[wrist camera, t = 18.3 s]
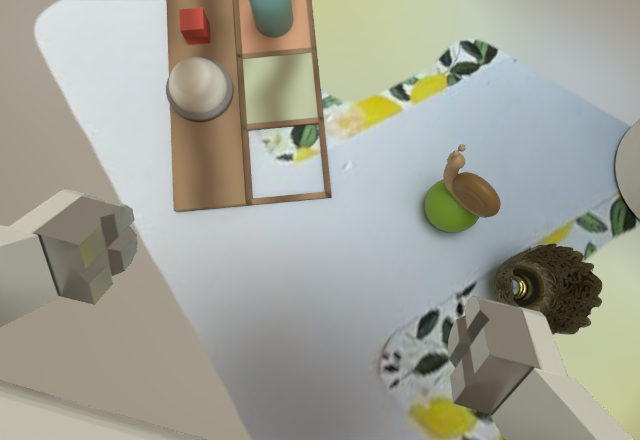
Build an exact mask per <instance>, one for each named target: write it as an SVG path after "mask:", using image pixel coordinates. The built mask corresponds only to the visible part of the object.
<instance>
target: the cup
mask: <svg viewBox="0 0 640 440" xmlns="http://www.w3.org/2000/svg"><path fill="white" fill-rule="evenodd" d="M583 257H584V256H583V254H582V253H580V252H578V251H573V248H570V247H562V246H559V247H556V244H549V245H539V246H536V247H534V248H532V249H529V250H527V251H524V252H521V253H519V254H517V255H515V256H513V257H511V258H510V259H508V260H507V261H506V262H505V263H504V264H503V265H502V266H501V267H500V269H499V270H498V272H497V275H496V278H495V293H496V296H497V299H498V301H499V302H500V303H504V304H508V305H512V306H515V307H522V308H526V309H530V310H534V311H538V312H541V313H542V314H543V315H544V316H545V317H546V320H547V322H548V325H549V327H550V330H551V333H552V334H554V333H560V334H575V333H576V332H577V331H578V330H579V328H580V327H587V326H589V325H590V324H591V321H590V320H589V318H587V319H586V317H587V316H588V315H589V314H591V309H592V308H593V307H599V306H600V305H601V303H602V300H601V299H600V298H599V297H598V295H599V294H600V292H601V290H602V282H601V280H600V279H599V278H598V277H597V276H596V275H594V274H593V273H592V272H591V270H592V269H593V268H594V265H593V264H591V263H584V262H581V261H582V259H583ZM513 279H514V280H516V281H517V282H518V283H519V285H520V290H519V292H518V293H517V294H516V295H514V293H513V282H512V280H513Z"/></svg>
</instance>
